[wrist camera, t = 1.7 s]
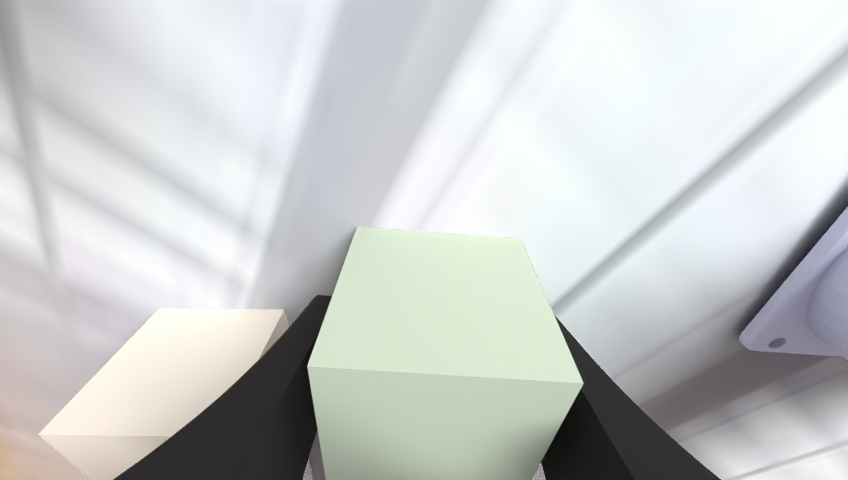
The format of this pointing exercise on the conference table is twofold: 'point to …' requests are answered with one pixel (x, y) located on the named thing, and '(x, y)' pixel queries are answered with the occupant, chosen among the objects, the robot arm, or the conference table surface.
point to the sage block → (438, 361)
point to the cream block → (159, 384)
